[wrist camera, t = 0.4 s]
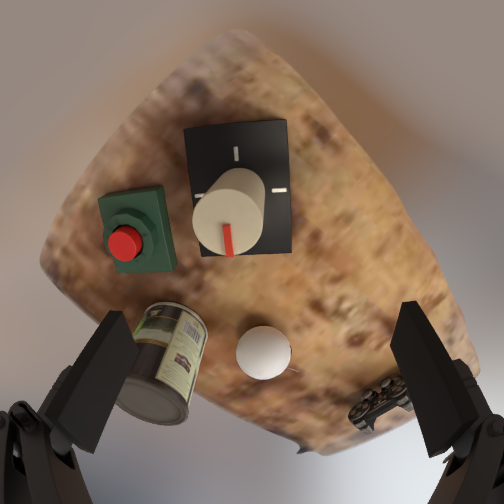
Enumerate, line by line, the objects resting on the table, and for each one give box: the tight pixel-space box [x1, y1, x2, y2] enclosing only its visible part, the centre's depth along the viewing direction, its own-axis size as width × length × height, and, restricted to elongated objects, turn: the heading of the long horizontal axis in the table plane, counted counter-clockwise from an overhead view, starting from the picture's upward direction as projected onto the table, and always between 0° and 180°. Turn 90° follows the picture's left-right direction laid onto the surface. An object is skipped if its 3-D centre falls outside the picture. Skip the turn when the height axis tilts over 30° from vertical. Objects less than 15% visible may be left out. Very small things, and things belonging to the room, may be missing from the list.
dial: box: [192, 168, 265, 257], centre depth 23 cm, size 5×5×9 cm
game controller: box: [348, 377, 414, 434], centre depth 41 cm, size 16×7×10 cm, turn 139°
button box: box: [98, 186, 177, 273], centre depth 31 cm, size 10×8×4 cm
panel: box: [184, 119, 292, 257], centre depth 29 cm, size 14×10×3 cm
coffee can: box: [115, 302, 208, 426], centre depth 33 cm, size 10×10×14 cm
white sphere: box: [236, 326, 300, 379], centre depth 36 cm, size 10×7×7 cm
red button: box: [108, 226, 142, 261], centre depth 29 cm, size 4×4×2 cm
